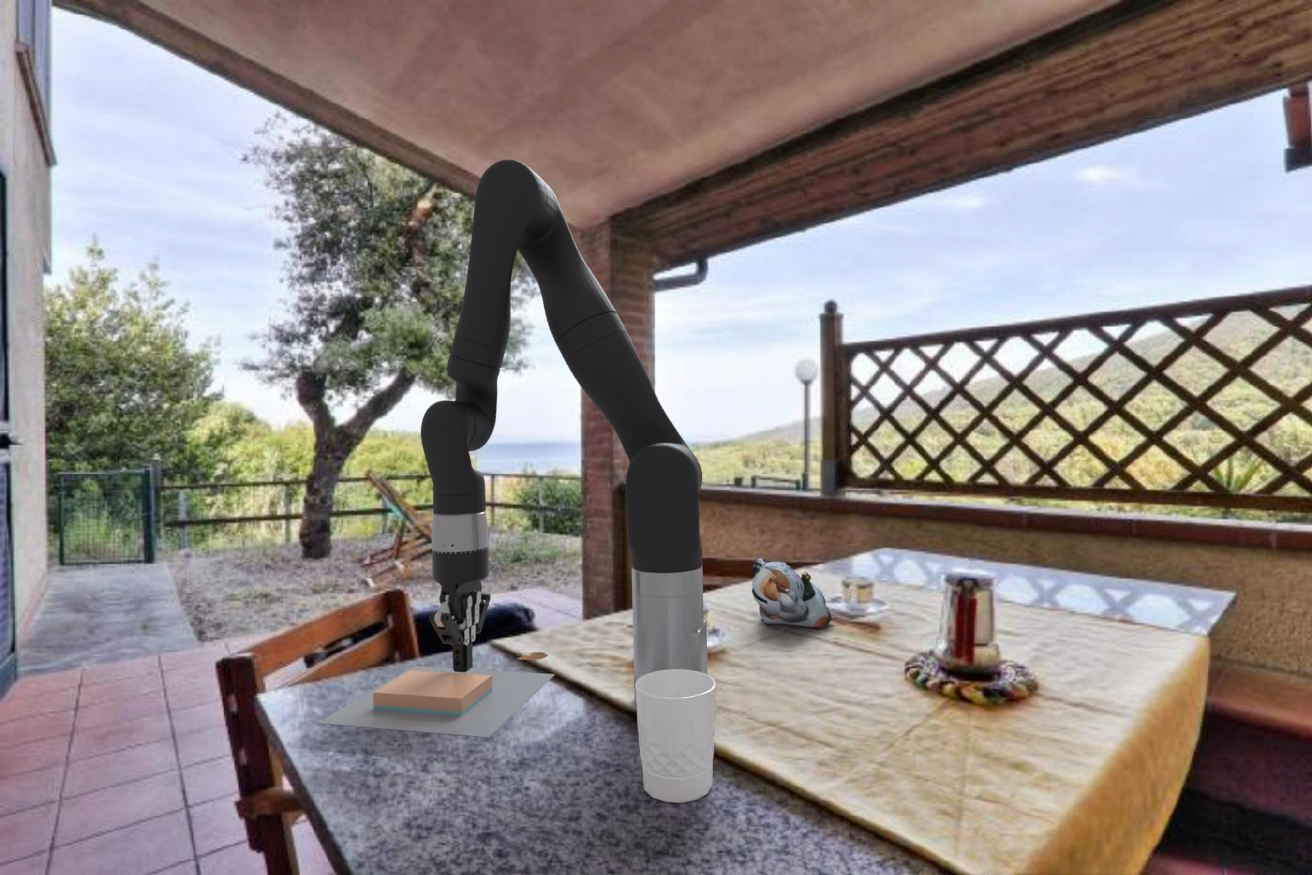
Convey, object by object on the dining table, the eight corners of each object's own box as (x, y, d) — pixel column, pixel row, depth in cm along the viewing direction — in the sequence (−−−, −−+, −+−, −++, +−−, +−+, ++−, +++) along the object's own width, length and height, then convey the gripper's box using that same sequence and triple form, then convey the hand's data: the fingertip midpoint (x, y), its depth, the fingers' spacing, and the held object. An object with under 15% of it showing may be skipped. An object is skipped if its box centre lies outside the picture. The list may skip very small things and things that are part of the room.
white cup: (635, 767, 69) (633, 670, 69) (710, 763, 69) (708, 666, 69) (639, 810, 61) (637, 700, 61) (725, 804, 62) (722, 695, 62)
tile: (491, 675, 88) (461, 698, 80) (492, 690, 88) (461, 715, 80) (410, 670, 90) (373, 692, 83) (410, 684, 90) (373, 708, 83)
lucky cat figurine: (846, 628, 116) (823, 564, 112) (784, 658, 115) (759, 595, 111) (809, 586, 130) (788, 528, 126) (754, 613, 129) (730, 555, 125)
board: (555, 682, 93) (554, 674, 93) (489, 747, 74) (488, 737, 74) (414, 673, 98) (414, 665, 98) (317, 732, 79) (317, 722, 79)
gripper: (460, 553, 85) (463, 689, 85) (506, 538, 98) (509, 656, 98) (408, 552, 87) (410, 686, 87) (460, 537, 100) (463, 653, 100)
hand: (463, 670), depth 92 cm, fingers closed
